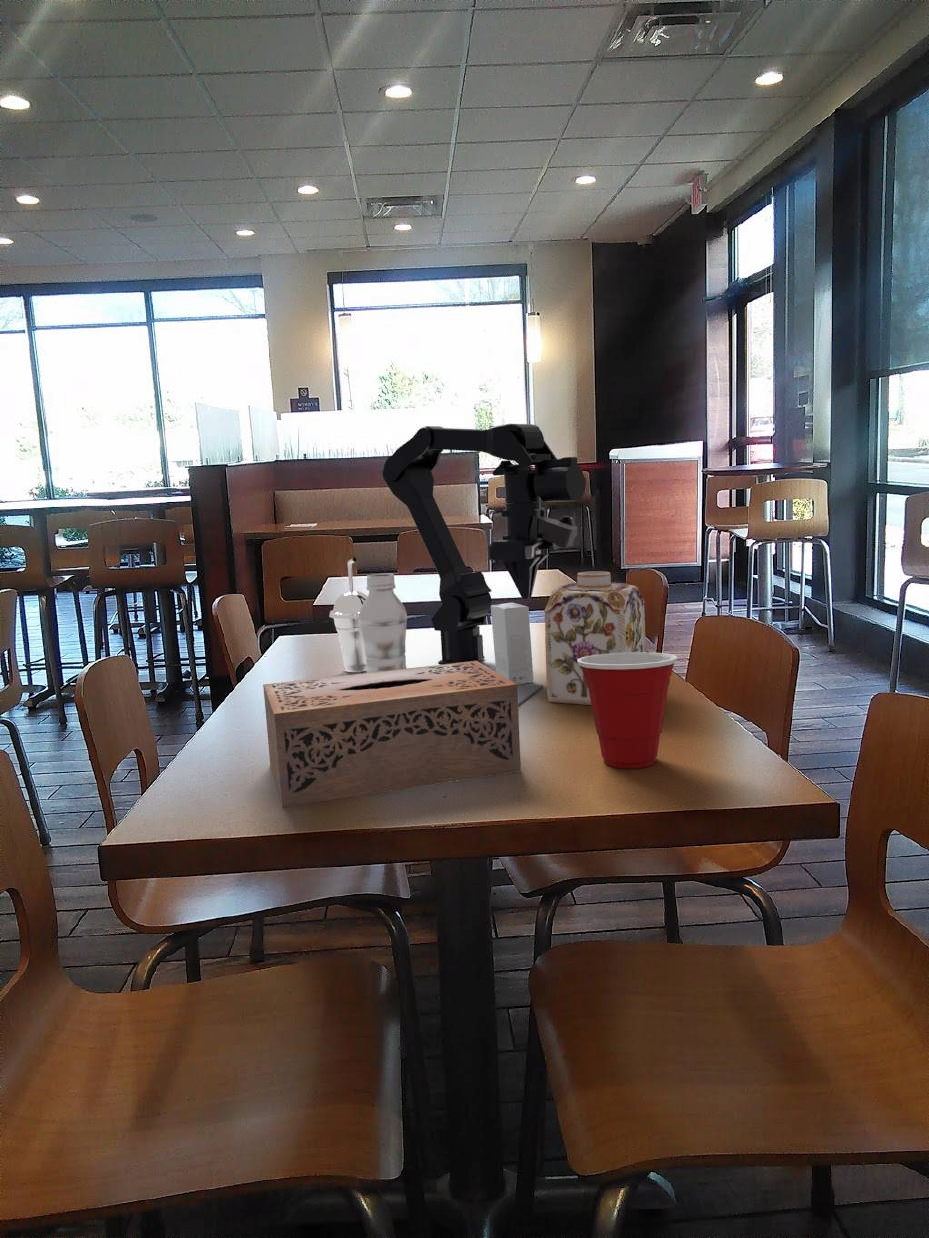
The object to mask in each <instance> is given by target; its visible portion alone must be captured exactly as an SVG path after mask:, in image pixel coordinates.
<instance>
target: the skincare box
mask: <svg viewBox="0 0 929 1238" xmlns="http://www.w3.org/2000/svg"><path fill="white" fill-rule="evenodd" d="M529 609H530V608H529V606H527V605H523V604H519V603H516V602H506V603H498V604H497V603H496V604H491V606H490V614H491V625H492V626H491V629H492V639H493V640H492V641H493V649H494V650H493V651H494V664H495V672H497V673H498V674H500V675H502V676H503V677H505V678H507V679H509V680H510V681H512V682H514V683H515V684H531V683H533V682H534V670H533V665H534V664H533V656H532V641H531V639H532V638H531V637H532V636H531V626H530V625H531V624H530V623H531V622H530V614H529V612H530V611H529Z"/></svg>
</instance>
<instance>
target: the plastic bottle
mask: <svg viewBox="0 0 929 1238" xmlns="http://www.w3.org/2000/svg"><path fill="white" fill-rule="evenodd" d="M394 575H395V574H394V573H377V574H375V573H374V574H369V575H366V591H368V595H367V596H368V597H367V598H366V600H365V601H364V603H363V605H362V607H361V609H360V612H359V624H360V628H361V633H362V637H363V642H364V648H365V656H366V664H367V671H366V673H371V672H380V671H389V670H398V669H407V664H406V663H407V661H406V651H407V650H406V637H407V621H408V614H407V610H406V608H405V605H404V604H403V603H402V601H401V599H400V598H399V597H398V596H397V595H396V594H395V592H394V589H396V583H395V576H394Z"/></svg>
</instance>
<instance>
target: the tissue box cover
mask: <svg viewBox="0 0 929 1238" xmlns="http://www.w3.org/2000/svg"><path fill="white" fill-rule="evenodd" d="M406 668H407V667H406ZM262 687H263V700H264V708H265V719H266V721H265V722H266V732H267V744H268V753H269V755H268V756H269V766H270V769H271V772H272V776H273V779H274V783H275V788H276V791H277V794H278V797H279V800H280V805H281V808H285V807H286V808H287V807H292V806H298V805H299V806H301V805H306V804H313V803H319V802H326V801H333V800H339V799H345V798H353V797H358V796H366V795H371V794H378V793H386V792H392V791H399V790H405V789H406V790H407V789H413V788H418V787H419V788H420V787H426V786H433V785H437V784H439V783H440V784H445V783H444V782H446V783H450V782H449V781H453V782H457V781H456V780H459V781H464V780H472V779H478V778H484V777H485V778H486V777H491V776H492V775H493V776H499V775H505V774H504V773H506V774H510V772H512V773H517V772H516V771H519V772H521V771H522V765H521V762H522V761H521V745H520V744H521V741H520V740H521V739H520V738H521V737H520V723H519V722H520V720H519V718H520V717H519V706H518V691H517V684H515V683H514V682H512V681H510V680H509V679H507V678H505V677H503V676H502V675H500V674H498V673H497V672H496V670H493V669H491V668H490V667H489V666H486V665H484V664H483V663H481V662H480V661H479V662H478V661H470V662H461V663H452V664H436V665H426V666H418V667H408V668H407V669H398V670H389V671H380V672H371V673H367V672H363V673H362V672H361V673H356V674H346V675H337V676H329V677H318V678H309V679H302V680H299V679H298V680H292V681H282V682H273V683H266V684H263V685H262ZM498 774H499V775H498ZM493 776H492V777H493ZM440 784H439V785H440Z"/></svg>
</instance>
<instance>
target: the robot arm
mask: <svg viewBox="0 0 929 1238" xmlns="http://www.w3.org/2000/svg"><path fill="white" fill-rule="evenodd" d="M544 437H545V436H544V435H543V431H542V430H541V429H540V427H539V426H538V425H535V424H532V423H506V424H500V425H495V426H492V427H489V428H484V429H483V428H482V429H478V428H452V427H450V428H448V427H443V426H439V425H438V426H437V425H435V426H433V425H426V426H422V427H421V428H419V429H418V430H417V431H416V432H415V434H414V435H413V436H412V438H410V439H408V440H407V441H406V442H405V443H403V444H402V445H400V446H399V447H398V448H397V449H396V450H395V451H394V453H392V455H390V456H389V457H388V458H387V459H386V460H385V462H384V465H383V470H382V471H381V472H382V478H383V481H384V482H385V485H386V486H387V487H388V489H389V490H390V492H391V493H392V495H393V496H395V497H396V499H398V500H399V501H400V502H401V503H402V504H403V505H404V506H406V507H407V509H408V511H409V513H410V516H411V517H412V519H413V521H414V524H415V526H416V528H417V531H418V533H419V535H420V537H421V539H422V542H423V543H424V544H423V545H424V546H425V548H426V551H427V552H428V554H429V557H430V559H431V561H432V563H433V565H434V568H435V570H436V572H437V574H438V576H439V579H440V580H439V588H438V589H439V591H438V596H439V599H440V603H441V606H440V607H439V608H438V610H437V611H436V612H435V614H434V615H433V616H432V618H431V623H432V626H433V629H434V631H437V632H440V646H441V659H440V660H438V662H437V663H438V664H437V665H443V664H452V663H461V662H470V661H478V662H479V663H480V661H482V660H484V659H485V658H486V657H485V655H484V640H483V639H484V638H483V635H482V634H481V633H480V632H481V631H480V626H484V625H485V623H486V619H487V615H488V613H489V612H490V611H491V605H492V603H493V602H492V596H491V592H492V591H493V590H492V589H491V588H490V587H489V586H488V584H487V582H486V579H485V575H484V574H483V572H482V571H480V570H479V571H472V570H470V569H469V568H468V567H467V566H466V563H465V561H464V559H463V558H462V555H461V553H460V551H459V548H458V547H457V543H456V542H455V540H454V537H453V535H452V533H451V531H450V530H449V528H448V525H447V523H446V521H445V519H444V517H443V514H442V513H441V512H442V511H441V510H440V508H439V506H438V504H437V501H436V499H435V497H434V485H435V479H434V476H433V473H432V472H433V471H434V470H435V468H437V466H438V465H439V462H440V459H441V456H442V452H443V451H444V450H445V451H446V450H448V451H449V450H450V451H464V452H466V451H467V452H481V453H485V454H488V455H490V456H492V457H495V458H499V459H501V461H500V463H499V465H498V466H496V468H495V469H494V470H493V471H492V475H493V476H494V477H495V476H503V477H504V479H503V480H504V482H503V483H504V506H505V509H503V510H501V517H502V518H503V517H505V524H506V525H505V526H506V527H505V528H506V535H503V536H502V539H499V540H493V541H491V543H490V544H489V545H488V546H487V560H491V561H492V560H494V561H495V560H496V561H497V560H499V561H500V562H502V564H503V566H504V567H505V568H506V570H507V572H508V573H509V575H510V577H511V580H512V581H513V583H514V585H515V587H516V589H517V591H518V592H519V595H520V597H521V599H522V600H528V599H531V598H532V595H533V592H534V586H535V583H536V578H537V575H538V570H539V566H540V564H541V563H542V562H543V561H545V559H546V558H547V557H549V554H550V553H542V550H551V551H556V550H559V548H564V549H567V548H569V547H570V548H571V547H572V546H573V543H574V540H575V538H576V537H577V535H578V534H579V532H578V526H577V525H576V524H575V523H576V522H575V518H574V517H572V516H568V515H564V516H562V517H561V518H560V519H559V520H558V519H557V518H556V519H553V518H550V517H548V516H547V509H546V508H545V507H542V504H541V501H543V502H545V503H551V502H552V503H553V502H554V503H555V502H556V503H558V502H559V503H560V502H579V501H580V500H581V499H582V498H583V497H584V495H585V492H586V484H587V482H586V477H585V475H584V471H583V469H582V467H581V466H580V465H579V464H578V457H577V456H566V457H561V458H557V457H556V455H555V454H554V452H553V451H552V450H551V448H550V447H549V445H548V444H547V442H546V441H545V438H544ZM511 461H513V462H515V463H517V464H514V463H512V462H511ZM531 466H534V470H533V469H532V467H531Z"/></svg>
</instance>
